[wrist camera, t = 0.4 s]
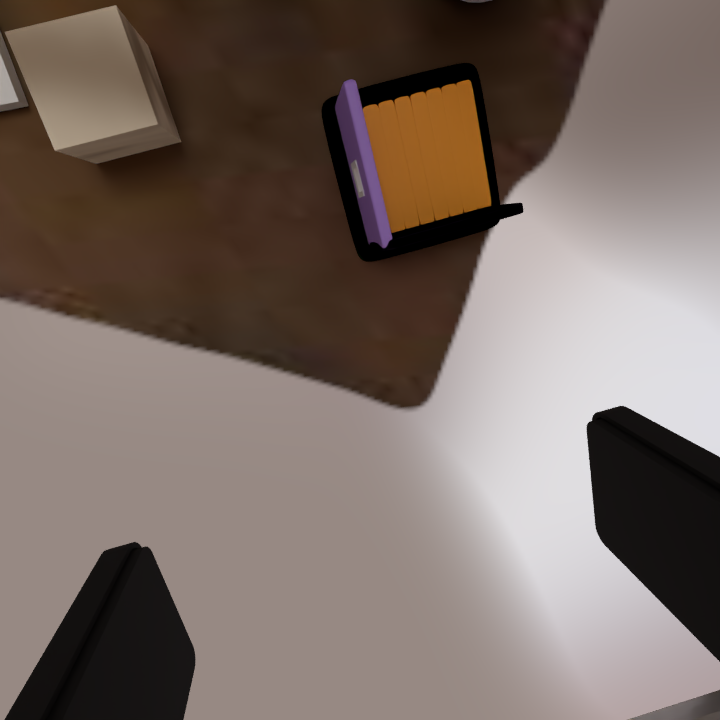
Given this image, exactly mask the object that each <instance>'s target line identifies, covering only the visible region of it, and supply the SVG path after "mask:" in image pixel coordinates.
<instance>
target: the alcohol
mask: <svg viewBox="0 0 720 720" xmlns="http://www.w3.org/2000/svg"><path fill="white" fill-rule="evenodd" d="M462 1H465V2H473V3H482V2H487V1H491V0H462Z"/></svg>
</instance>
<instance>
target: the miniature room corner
mask: <svg viewBox="0 0 720 720" xmlns="http://www.w3.org/2000/svg"><path fill="white" fill-rule="evenodd" d="M322 119H323V124H324V129H325V133H326V137H327V142H328V146H329V150H330V154H331V158H332V162H333V166H334V170H335V174H336V178H337V182H338V186H339V189H340V193H341V197H342V201H343V205H344V209H345V212H346V216H347V220H348V224H349V227H350V231H351V234H352V238H353V241H354V245H355V248H356V251H357V253H358V255H359V257H360V258H361V259H362V260H364V261H377V260H381V259H386V258H389V257H393V256H397V255H401V254H405V253H408V252H412V251H416V250H419V249H423V248H426V247H430V246H434V245H437V244H441V243H444V242H448V241H451V240H454V239H458V238H461V237H465V236H468V235H471V234H475V233H478V232H481V231H484V230H487V229H489V228H492V227H494V226H495V225H497V224H498V222H499V220H500V219H504V218H507V217H511V216H514V215H517V214H520V213H523V206H522V203H513V204H503V205H500V200H499V193H498V186H497V179H496V172H495V166H494V159H493V153H492V147H491V140H490V134H489V128H488V122H487V116H486V110H485V104H484V99H483V93H482V88H481V83H480V78H479V74H478V72H477V69H476V68H475V66H474V65H472V64H470V63H462V64H456V65H451V66H446V67H442V68H438V69H434V70H430V71H425V72H421V73H417V74H413V75H409V76H406V77H402V78H398V79H394V80H390V81H386V82H382V83H379V84H375V85H371V86H367V87H364V88H360V89H358V88H357V84H356V81H355V80H352V79H350V80H346V81H345V82H344V83H343V85H342V87H341V90H340V93H339V95H336V96H334V97H331V98H329V99H328V100H326V101H325V103H324V104H323V107H322Z"/></svg>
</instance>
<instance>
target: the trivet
mask: <svg viewBox="0 0 720 720" xmlns="http://www.w3.org/2000/svg"><path fill="white" fill-rule="evenodd" d="M27 106H29V105H28V103H27V100H26V97H25V95H24V92H23V89H22V87H21V84H20V82H19V79H18V76H17V74H16V71H15V68H14V66H13V63H12V61H11V58H10V55H9V53H8V50H7V47H6V45H5V42H4V39H3V37H2V34H1V32H0V112H1V111H6V110H11V109H17V108H22V107H27Z"/></svg>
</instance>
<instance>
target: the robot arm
mask: <svg viewBox="0 0 720 720" xmlns="http://www.w3.org/2000/svg"><path fill="white" fill-rule="evenodd" d="M587 438H588V448H589V460H590V470H591V482H592V493H593V504H594V514H595V525H596V530H597V533H598V535H599V537H600V539H601V541H602V542H603V543H604V545H605V546H606V547H607V548H609V550H610V551H611V552H612V553H613V554H614V555H615V556H616V557H617V558H618V559H619V560H620V561H621V562H622V563H623V564H624V565H625V566H626V567H627V568H628V569H629V570H630V571H631V572H632V573H633V574H634V575H635V576H636V577H637V578H638V579H639V580H640V581H641V582H642V583H643V584H644V585H645V586H646V587H647V588H648V589H649V590H650V591H651V592H652V593H653V594H654V595H655V596H656V597H657V598H658V599H659V600H660V601H661V603H662V604H663V605H664V606H665V607H666V608H667V609H669V611H670V612H671V613H672V614H673V615H674V616H675V617H676V618H677V619H678V620H679V621H680V622H681V623H682V624H683V625H684V626H685V627H686V628H687V629H688V630H689V631H690V632H691V633H692V634H693V635H694V636H695V637H696V638H697V639H698V640H699V641H700V642H701V643H702V644H703V645H704V646H705V647H706V648H707V649H708V650H709V651H710V652H711V653H712V654H713V655H714V656H715V657H716V658H717V659H718V660H719V661H720V457H719V456H717V455H715V454H713V453H711V452H709V451H707V450H705V449H704V448H702V447H700V446H698V445H696V444H694V443H692V442H691V441H689V440H687V439H685V438H683V437H681V436H679V435H677V434H676V433H674V432H672V431H670V430H668V429H666V428H664V427H662V426H660V425H659V424H657V423H655V422H653V421H651V420H649V419H648V418H646V417H644V416H642V415H640V414H638V413H636V412H634V411H632V410H631V409H629V408H627V407H624V406H619V407H615V408H612V409H608V410H605V411H601V412H597V413H595V414H594V415H593V418H592V421H591V422H589V423H588V424H587ZM194 669H195V652H194V648H193V645H192V643H191V640H190V638H189V636H188V633H187V632H186V629H185V627H184V624H183V622H182V620H181V618H180V615H179V613H178V611H177V608H176V606H175V604H174V601H173V599H172V597H171V595H170V592H169V590H168V588H167V585H166V583H165V581H164V579H163V576H162V574H161V572H160V569H159V567H158V565H157V562H156V560H155V558H154V556H153V553H152V551H151V550H150V549H149V548H148V547H143V548H142V547H141V546H140V545H139V544H138V543H136V542H133V543H129V544H126V545H122V546H119V547H115V548H112V549H108V550H106V551H104V552H103V553H102V554H101V556H100V558H99V559H98V561H97V563H96V565H95V566H94V568H93V570H92V571H91V573H90V575H89V577H88V578H87V580H86V582H85V583H84V585H83V587H82V588H81V590H80V592H79V594H78V595H77V597H76V599H75V600H74V602H73V604H72V605H71V607H70V609H69V611H68V612H67V614H66V616H65V618H64V619H63V621H62V623H61V624H60V626H59V628H58V629H57V631H56V633H55V634H54V636H53V638H52V640H51V641H50V643H49V645H48V646H47V648H46V650H45V652H44V653H43V655H42V657H41V658H40V660H39V662H38V663H37V665H36V667H35V669H34V670H33V672H32V674H31V675H30V677H29V679H28V681H27V682H26V684H25V686H24V687H23V689H22V691H21V692H20V694H19V696H18V698H17V699H16V701H15V703H14V704H13V706H12V708H11V710H10V711H9V713H8V715H7V716H6V718H5V720H183V719H184V714H185V710H186V705H187V701H188V696H189V691H190V687H191V683H192V678H193V673H194ZM628 720H720V690H719V691H716V692H712V693H709V694H706V695H703V696H700V697H697V698H694V699H691V700H688V701H685V702H681V703H678V704H675V705H672V706H669V707H666V708H663V709H660V710H656V711H653V712H650V713H647V714H644V715H641V716H638V717H635V718H632V719H628Z"/></svg>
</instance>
